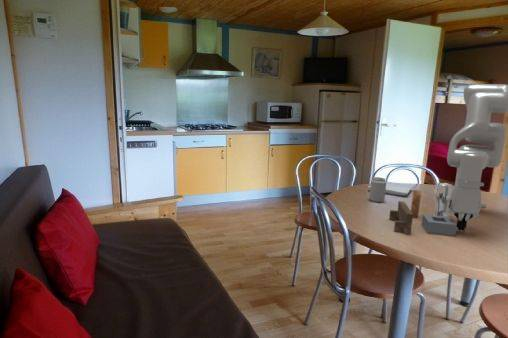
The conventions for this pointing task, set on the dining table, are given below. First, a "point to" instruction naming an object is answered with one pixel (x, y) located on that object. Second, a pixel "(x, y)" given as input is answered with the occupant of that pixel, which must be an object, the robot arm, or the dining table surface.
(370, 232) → the dining table surface
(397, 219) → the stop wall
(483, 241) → the dining table surface
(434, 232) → the hole block
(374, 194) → the can
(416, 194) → the dowel
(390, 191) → the salad plate
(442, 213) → the beer glass
